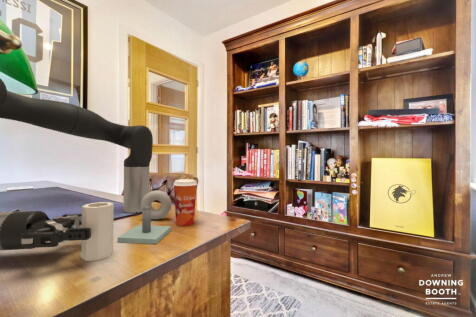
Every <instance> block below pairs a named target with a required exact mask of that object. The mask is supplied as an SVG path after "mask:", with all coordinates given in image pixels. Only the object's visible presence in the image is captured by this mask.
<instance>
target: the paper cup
mask: <svg viewBox="0 0 476 317" xmlns="http://www.w3.org/2000/svg"><path fill="white" fill-rule="evenodd" d="M198 185H199V183H198V181H197V179H191V178H189V179H188V178H186V179H185V178H183V179H182V178H181V179H175V181H174V183H173V188H174V191H173V192H174V207H175V208H174V210H175V211H174V212H175V213H174V214H175V224H176V226H179V227H189V226H192V225H194V223H195V213H196V211H195V210H196V199H197V188H198V187H197V186H198Z"/></svg>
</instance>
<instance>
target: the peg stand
mask: <svg viewBox="0 0 476 317" xmlns="http://www.w3.org/2000/svg"><path fill="white" fill-rule="evenodd" d="M141 214H142V216H141V217H142V218H141V219H142V220H141V224H138V225H136V226H134V227H133V228H131V229H130V230H127V231H126V232H124V233H122V234H121V235H119V236H117V241H116V242H117V243H120V244H121V243H122V244H123V243H125V244H127V243H128V244H142V245H143V244H144V245H145V244H146V245H157V244H158V243H160V241H162V239H164V238H165V237H166V236H167V235H168V234H169V233H171V231H172V226H171V225H170V226H169V225H152V219H151V208H150V206H144V207H143V210H142V212H141Z"/></svg>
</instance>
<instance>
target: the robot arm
mask: <svg viewBox="0 0 476 317" xmlns="http://www.w3.org/2000/svg"><path fill="white" fill-rule="evenodd" d="M0 119H5V120H10V121H15V122H16V121H17V122H21V123H24V124H25V123H26V124H28V125H32V126H35V127H36V126H37V127H39V128H43V129H46V130H50V131H55V132H57V133H63V134H67V135H71V136H75V137H79V138H84V139H91V140H97V141H104V142H108V143H111V144H115V145H118V146H120V147H123V148H125V149H129V150H130V152H129V155H128V156H127V157H126V158H125V159H124V161H123V204H122V205H123V211H122V212H124V213H126V214H127V213H128V214H129V213H130V214H131V213H132V214H134V213H136V212H137V213H142V209H141V202H142V199H143V198H144V196H145V195H146V194H147V193H149V192H151V191H150V190H151V189H150V188H151V187H150V163H151V161H152V159H153V158H152V156H153V146H154V145H153V143H154V142H153V141H154V139H153V133H152V131H151V129H150V128H149V127H148V126H146V125H141V124H140V125H124V124H119V123H114V122H112V121H109V120H107V119H106V118H104V117H102V116H101V115H100V114H98V113H96V112H95V111H92V110H90V109H88V108H85V107H81V106H78V105H76V104H72V103H68V102H64V101H58V100H52V99H51V100H50V99H43V98H35V97H30V96H26V95H21V94H18V93H16V92H12V91H9V90H7V86H6V84H5V82H4V81H3V79H2V78H1V77H0ZM89 238H91V228H82V213H71V214H70V213H69V214H67V213H65V214H63V215H62V216H55V217H53V218H52V219H51V218H49V216H48V215H47V213H46V212H45V211H43V210H26V211H25V210H24V211H23V210H21V211H18V210H17V211H0V252H2V251H13V250H14V251H16V250H32V249H36V248H37V249H39V248H56V247H58V246H59V243H60V244H65V243H67V242H71V241H82V240H88V239H89Z"/></svg>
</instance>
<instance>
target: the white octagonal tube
mask: <svg viewBox="0 0 476 317" xmlns="http://www.w3.org/2000/svg"><path fill="white" fill-rule="evenodd" d="M114 205H115V204H114V203H113V202H110V201H104V202H103V201H102V202H101V201H100V202H97V201H96V202H91V203H86V204H84V205H82V206H81V214H82V220H81V222H82V228H91V238H89V239H88V240H81V249H80V250H81V255H80V256H81V259H82V260H83V261H85V262H91V261H92V262H93V261H100V260H103V259H106V258H108V257H111V255H112V254H113V253H114V212H115V211H114V209H115V208H114Z"/></svg>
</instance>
